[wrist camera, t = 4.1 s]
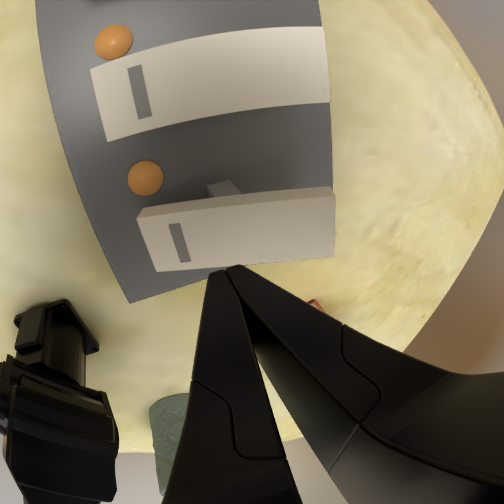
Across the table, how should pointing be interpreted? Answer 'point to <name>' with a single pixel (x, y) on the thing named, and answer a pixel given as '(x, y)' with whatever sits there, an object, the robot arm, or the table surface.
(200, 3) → the switch panel
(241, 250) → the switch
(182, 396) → the grey-green cylinder
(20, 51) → the table surface
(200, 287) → the table surface
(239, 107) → the switch middle
